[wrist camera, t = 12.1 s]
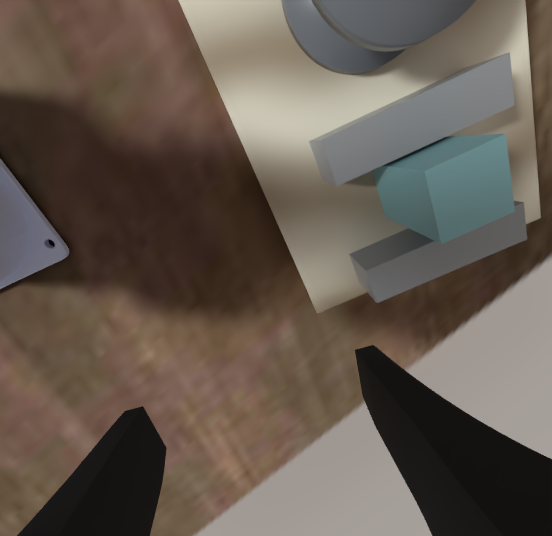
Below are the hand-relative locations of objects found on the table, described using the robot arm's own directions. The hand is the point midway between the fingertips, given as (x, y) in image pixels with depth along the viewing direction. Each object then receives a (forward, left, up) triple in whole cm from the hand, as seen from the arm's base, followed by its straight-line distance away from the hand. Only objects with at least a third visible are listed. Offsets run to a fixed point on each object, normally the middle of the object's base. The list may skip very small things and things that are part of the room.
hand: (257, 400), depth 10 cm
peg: (-2, +10, -8) cm, 13 cm away
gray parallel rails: (-2, +10, -8) cm, 13 cm away
